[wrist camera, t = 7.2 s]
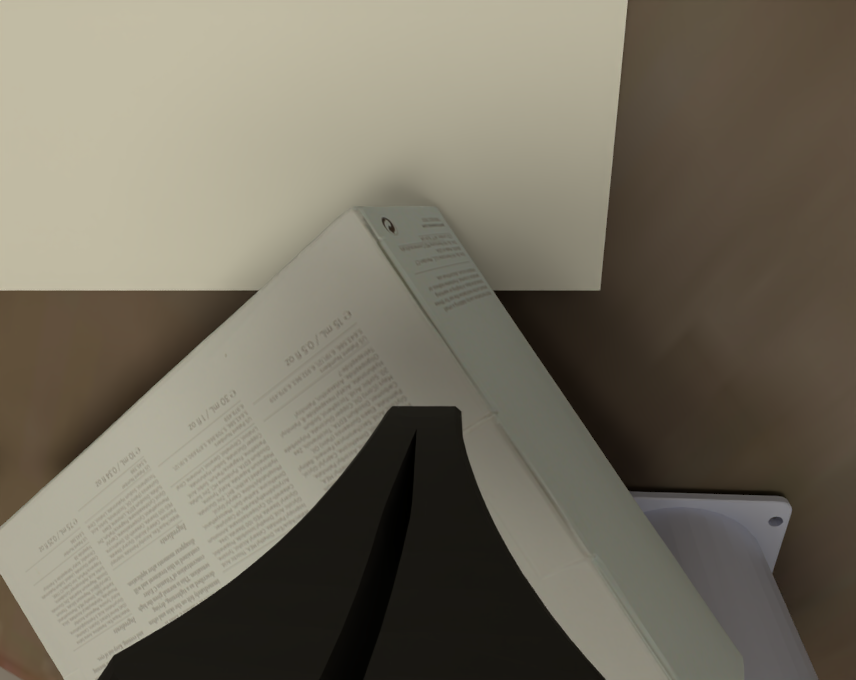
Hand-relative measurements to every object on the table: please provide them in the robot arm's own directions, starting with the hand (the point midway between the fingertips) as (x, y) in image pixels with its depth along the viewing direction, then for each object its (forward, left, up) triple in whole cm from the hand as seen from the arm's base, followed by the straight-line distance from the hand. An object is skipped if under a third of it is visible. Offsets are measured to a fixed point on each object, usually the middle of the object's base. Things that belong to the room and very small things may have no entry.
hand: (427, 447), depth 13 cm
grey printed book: (-4, +9, -8) cm, 13 cm away
